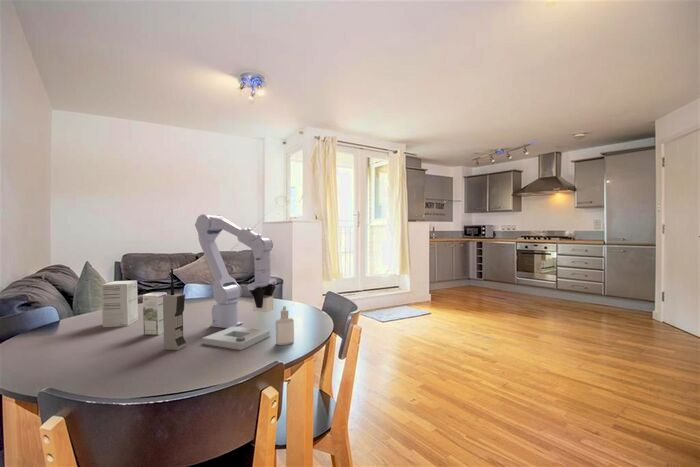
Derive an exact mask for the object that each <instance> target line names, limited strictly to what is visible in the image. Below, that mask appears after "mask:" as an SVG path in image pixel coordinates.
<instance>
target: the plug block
mask: <svg viewBox="0 0 700 467" xmlns="http://www.w3.org/2000/svg"><path fill="white" fill-rule="evenodd" d="M252 299H253V300H252V306H253V309H252V310H253V312H261V313H269V312H271V311H274V296H273V295H272V296H268V295H263V305H262V308H257V307H256V304H255V300H254V298H253V297H252Z"/></svg>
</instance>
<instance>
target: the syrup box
mask: <svg viewBox="0 0 700 467" xmlns="http://www.w3.org/2000/svg"><path fill="white" fill-rule="evenodd" d="M166 295H168V293H167V292H149V293H145V294H143V295H142V316H143V317H142V320H143V321H142V322H143V335H144V336H160V335H162V334H164V325H163V296H166Z"/></svg>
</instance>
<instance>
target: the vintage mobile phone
mask: <svg viewBox="0 0 700 467" xmlns="http://www.w3.org/2000/svg"><path fill="white" fill-rule="evenodd" d="M185 301H186V294H185V293H175V283H174V269H173V268H171V269H170V293H169V294H167V295H166V296H163V325H164V333H163V350H166V351H180V350H181V349H183V348H185V347H187V342H186V339H185V337H184V310H185Z"/></svg>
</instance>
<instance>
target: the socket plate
mask: <svg viewBox="0 0 700 467" xmlns="http://www.w3.org/2000/svg"><path fill="white" fill-rule="evenodd" d="M270 337H271V333H270V330H268V329H259V328H251V327H250V328H249V327H242V326H233V327H230V328H224V329H223V330H219V331H217V332H214V333H212V334H208V335H207V336H206V335H205V336H203V337H202V338H201V339H202V341H201V342H202V345H207V346H214V347H219V348H225V349H233V350H238V351H243V350H244V349H246V348H249V347H251V346H253V345H255V344H257V343H259V342H261V341H263V340H265V339H267V338H270Z"/></svg>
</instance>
